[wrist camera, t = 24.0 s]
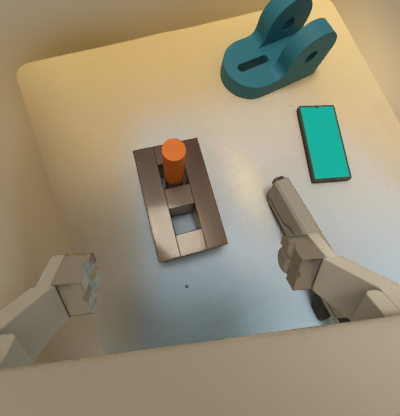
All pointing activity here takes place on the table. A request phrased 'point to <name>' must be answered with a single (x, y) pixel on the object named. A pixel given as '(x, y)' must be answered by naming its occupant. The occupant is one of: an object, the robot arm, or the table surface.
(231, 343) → the robot arm
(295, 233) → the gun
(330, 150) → the smartphone
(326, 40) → the camera mount
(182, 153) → the orange cylinder rod
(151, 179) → the pen stand
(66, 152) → the table surface
